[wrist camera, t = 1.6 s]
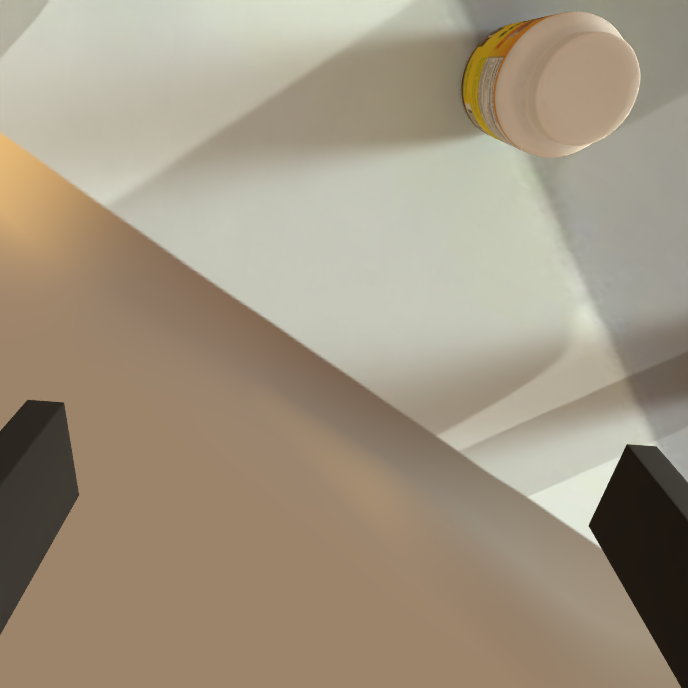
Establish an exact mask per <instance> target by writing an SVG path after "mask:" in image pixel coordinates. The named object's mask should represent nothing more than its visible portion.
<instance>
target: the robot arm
mask: <svg viewBox="0 0 688 688" xmlns="http://www.w3.org/2000/svg"><path fill="white" fill-rule="evenodd" d="M78 496H79V493H78V486H77V481H76V474H75V468H74V461H73V455H72V449H71V443H70V437H69V431H68V425H67V418H66V413H65V406H64V403H62V402H49V401H36V400H27V401H26V402H25V404H24V405H23V406H22V407H21V408H20V409H19V410H18V412H17V413H16V414H15V415H14V416H13V417H12V418H11V420H10V421H9V422H8V423H7V424H6V426H4V428H3V429H2V430H1V431H0V634H1V632H2V631H3V629H4V627H5V625H6V624H7V622H8V620H9V618H10V617H11V615H12V613H13V611H14V609H15V608H16V606H17V604H18V602H19V601H20V599H21V597H22V595H23V593H24V592H25V590H26V588H27V586H28V585H29V583H30V581H31V579H32V578H33V576H34V574H35V572H36V570H37V569H38V567H39V565H40V563H41V562H42V560H43V558H44V556H45V554H46V553H47V551H48V549H49V547H50V546H51V544H52V542H53V540H54V539H55V537H56V535H57V533H58V531H59V530H60V528H61V526H62V524H63V523H64V521H65V519H66V517H67V516H68V514H69V512H70V510H71V508H72V507H73V505H74V503H75V501H76V500H77V498H78ZM589 527H590V529H591V531H592V532H593V534H594V536H595V538H596V539H597V541H598V543H599V545H600V546H601V548H602V550H603V552H604V553H605V555H606V557H607V559H608V560H609V562H610V564H611V566H612V567H613V569H614V571H615V572H616V574H617V576H618V578H619V579H620V581H621V583H622V584H623V586H624V588H625V590H626V592H627V593H628V595H629V597H630V599H631V600H632V602H633V604H634V606H635V607H636V609H637V611H638V613H639V614H640V616H641V618H642V620H643V621H644V623H645V625H646V627H647V628H648V630H649V632H650V634H651V635H652V637H653V639H654V640H655V642H656V644H657V646H658V648H659V649H660V651H661V653H662V655H663V656H664V658H665V660H666V661H667V663H668V665H669V667H670V668H671V670H672V672H673V674H674V675H675V677H676V678H677V681H678V682H679V684H680V686H681V688H688V482H687V481H686V480H685V479H684V478H683V476H682V475H681V474H680V473H679V472H678V471H677V469H676V468H675V467H674V466H673V465H672V464H671V463H670V461H669V460H668V459H667V458H666V457H665V456H664V454H663V453H662V452H661V451H660V450H659V449H658V448H657V447H656V446H642V445H629V444H627V445H626V447H625V449H624V452H623V454H622V456H621V458H620V460H619V462H618V464H617V466H616V468H615V471H614V473H613V475H612V477H611V479H610V481H609V483H608V485H607V488H606V490H605V492H604V494H603V496H602V498H601V500H600V502H599V505H598V507H597V509H596V511H595V513H594V515H593V517H592V519H591V521H590V524H589Z"/></svg>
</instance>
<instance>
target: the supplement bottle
mask: <svg viewBox="0 0 688 688" xmlns="http://www.w3.org/2000/svg"><path fill="white" fill-rule="evenodd" d="M639 85H640V67H639V63H638V59H637V57H636V54H635V52H634V50H633V49H632V47H631V46H630V45H629V44H628V43H627V42H626V41H625V40H623V38H622V36H621V35H620V33H619V32H618V31H617V29H616V28H615V27H614V26H613V25H611V24H610V23H609V22H608V21H606V20H605V19H603V18H601V17H599V16H596V15H594V14H590V13H586V12H566V13H560V14H555V15H551V16H546V17H542V18H537V19H532V20H528V21H523V22H518V23H514V24H510V25H506V26H504V27H501V28H499V29H497V30H495V31H493V32H492V33H490V34H489V35H487V36H486V37H485V38H484V39H483V40H482V41H481V42H479V43H478V45H477V46H476V47H475V48H474V50H473V51H472V53H471V54H470V56H469V58H468V60H467V62H466V65H465V67H464V70H463V74H462V79H461V99H462V104H463V107H464V110H465V112H466V114H467V116H468V118H469V119H470V121H471V122H472V123H473V124H474V125H475V126H476V127H477V128H478V129H480V130H481V131H483V132H484V133H486V134H488V135H490V136H492V137H494V138H496V139H498V140H501V141H503V142H505V143H507V144H509V145H512V146H514V147H516V148H518V149H520V150H523V151H525V152H527V153H529V154H533V155H536V156H541V157H561V156H565V155H570V154H573V153H575V152H577V151H580V150H582V149H583V148H585V147H587V146H589V145H590V144H592V143H594V142H597V141H599V140H601V139H603V138H604V137H606V136H608V135H609V134H611V133H612V132H613V131H614V130H615V129H616V128H618V127H619V125H620V124H621V123H622V122H623V121H624V120H625V119H626V117H627V116H628V114H629V113H630V111H631V109H632V107H633V105H634V103H635V101H636V98H637V95H638V91H639Z"/></svg>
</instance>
